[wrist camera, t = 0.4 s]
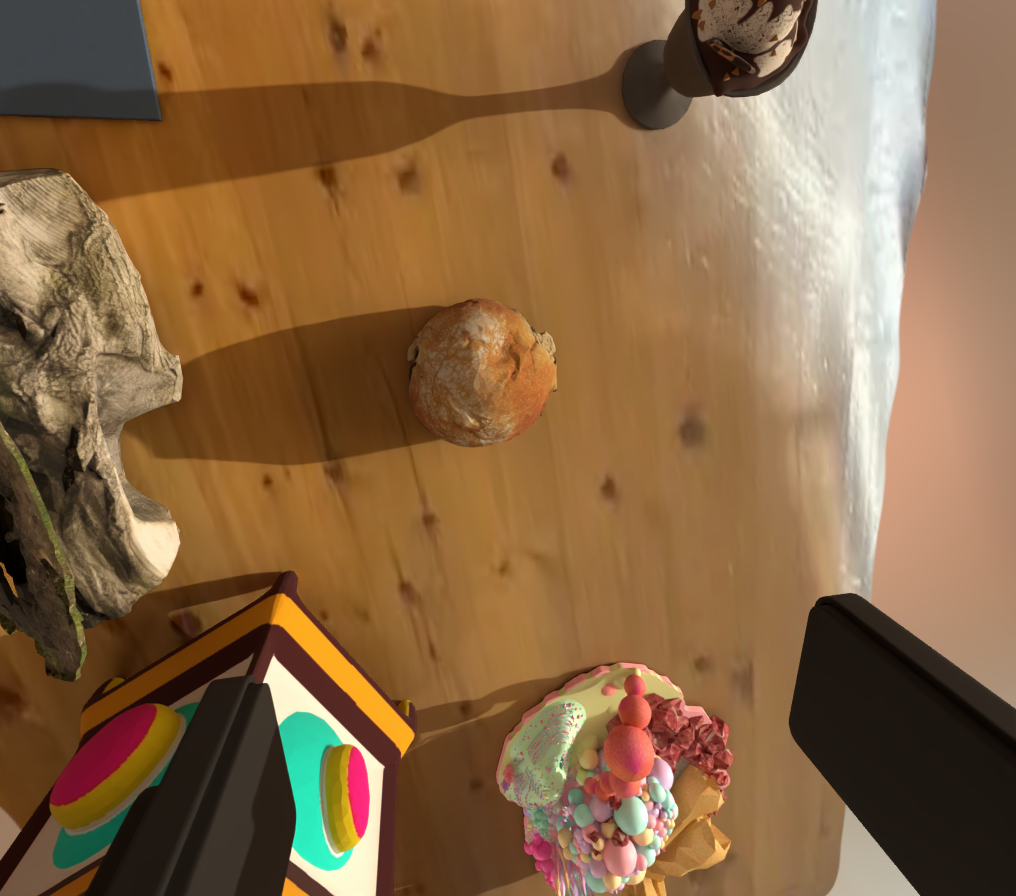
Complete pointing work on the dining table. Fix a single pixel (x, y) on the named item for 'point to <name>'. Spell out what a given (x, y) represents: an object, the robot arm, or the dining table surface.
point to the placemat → (76, 60)
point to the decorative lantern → (305, 738)
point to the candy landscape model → (618, 782)
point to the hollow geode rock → (73, 419)
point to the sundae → (717, 56)
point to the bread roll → (480, 373)
